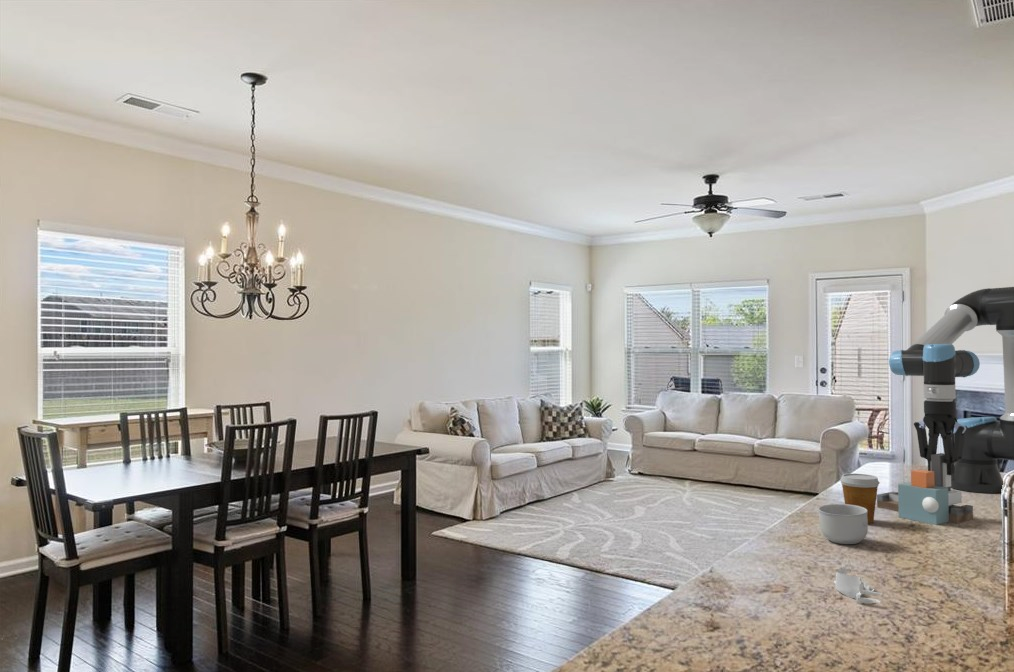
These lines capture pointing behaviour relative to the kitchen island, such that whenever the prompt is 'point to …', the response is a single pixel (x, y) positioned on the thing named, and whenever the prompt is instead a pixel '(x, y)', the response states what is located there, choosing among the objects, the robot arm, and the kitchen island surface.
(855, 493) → the disposable coffee cup
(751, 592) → the kitchen island surface
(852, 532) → the light gray bowl
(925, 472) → the button
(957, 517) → the rail board
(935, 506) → the cabinet
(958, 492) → the carriage
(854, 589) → the white figurine
